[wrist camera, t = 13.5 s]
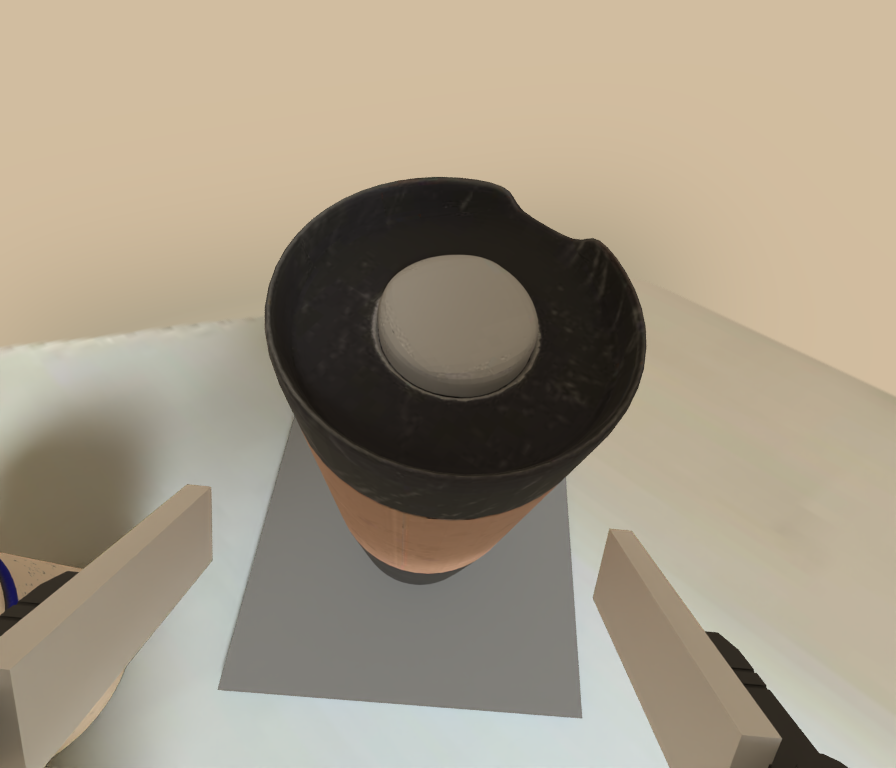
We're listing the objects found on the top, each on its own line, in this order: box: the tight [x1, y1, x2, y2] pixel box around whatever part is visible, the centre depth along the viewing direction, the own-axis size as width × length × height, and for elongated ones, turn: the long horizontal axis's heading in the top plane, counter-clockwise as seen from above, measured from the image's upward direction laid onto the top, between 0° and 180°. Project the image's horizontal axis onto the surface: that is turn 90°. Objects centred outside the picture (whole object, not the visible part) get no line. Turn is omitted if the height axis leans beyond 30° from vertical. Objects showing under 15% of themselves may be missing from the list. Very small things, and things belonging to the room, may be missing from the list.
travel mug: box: [265, 177, 646, 585], centre depth 17 cm, size 8×8×20 cm
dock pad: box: [218, 416, 582, 718], centre depth 26 cm, size 18×18×1 cm
